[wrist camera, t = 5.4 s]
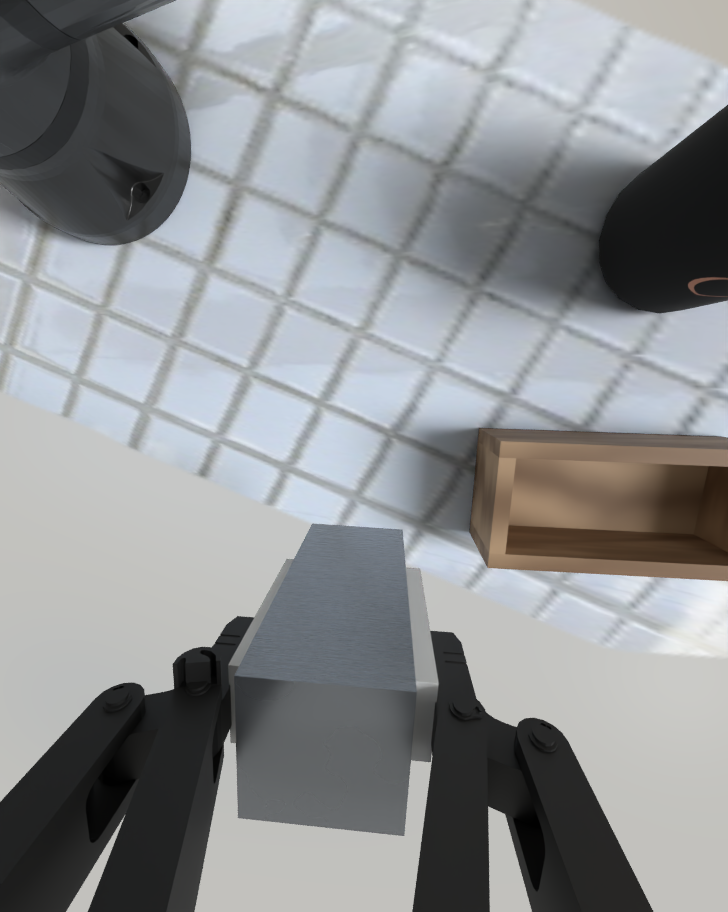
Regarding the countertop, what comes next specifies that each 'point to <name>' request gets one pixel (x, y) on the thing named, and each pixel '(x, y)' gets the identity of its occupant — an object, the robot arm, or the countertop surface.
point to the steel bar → (331, 689)
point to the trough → (602, 503)
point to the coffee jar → (673, 227)
